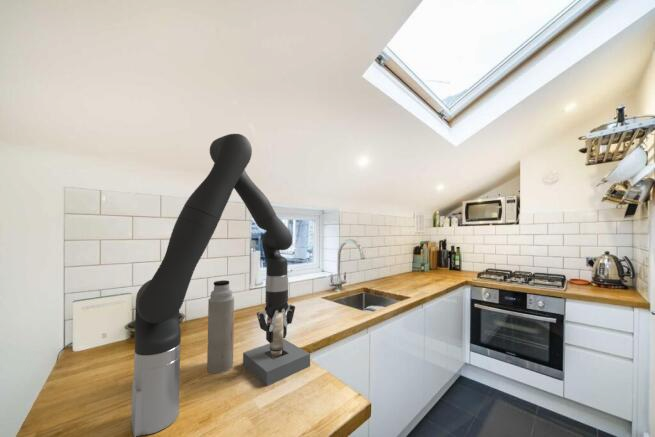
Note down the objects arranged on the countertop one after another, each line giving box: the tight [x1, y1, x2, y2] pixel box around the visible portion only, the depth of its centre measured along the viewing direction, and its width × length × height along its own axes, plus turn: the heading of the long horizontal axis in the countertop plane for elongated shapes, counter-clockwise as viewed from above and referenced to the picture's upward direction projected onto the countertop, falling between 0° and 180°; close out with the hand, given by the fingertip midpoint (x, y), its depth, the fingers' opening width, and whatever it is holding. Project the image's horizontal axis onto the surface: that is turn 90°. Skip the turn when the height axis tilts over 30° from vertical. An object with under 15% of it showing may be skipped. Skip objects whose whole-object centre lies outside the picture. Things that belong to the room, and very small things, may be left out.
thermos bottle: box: [206, 279, 235, 374], centre depth 85 cm, size 8×8×28 cm
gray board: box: [242, 338, 311, 387], centre depth 85 cm, size 16×16×4 cm
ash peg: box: [269, 312, 284, 360], centre depth 86 cm, size 4×4×16 cm
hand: (276, 339), depth 86 cm, fingers closed on ash peg, 4 cm apart
